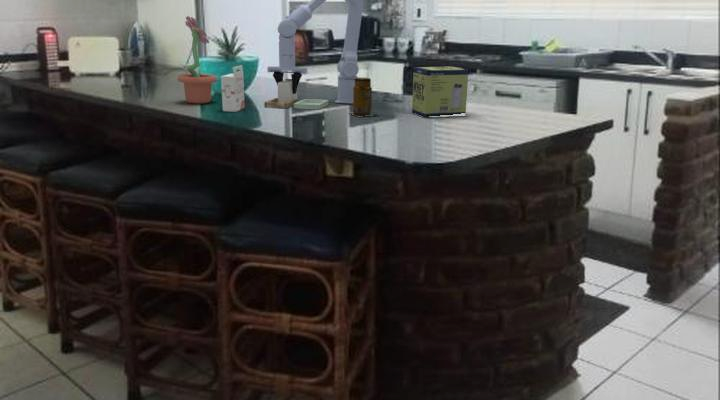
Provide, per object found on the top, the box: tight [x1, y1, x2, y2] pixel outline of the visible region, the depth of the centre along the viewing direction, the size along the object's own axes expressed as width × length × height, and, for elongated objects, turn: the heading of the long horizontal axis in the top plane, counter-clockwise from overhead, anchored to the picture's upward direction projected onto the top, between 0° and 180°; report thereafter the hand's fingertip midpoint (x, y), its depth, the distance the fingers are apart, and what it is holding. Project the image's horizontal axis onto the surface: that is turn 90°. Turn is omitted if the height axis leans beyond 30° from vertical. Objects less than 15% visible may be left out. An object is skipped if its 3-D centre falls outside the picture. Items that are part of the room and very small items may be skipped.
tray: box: [293, 98, 329, 111], centre depth 225 cm, size 9×13×2 cm
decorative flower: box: [177, 15, 218, 105], centre depth 225 cm, size 15×14×30 cm
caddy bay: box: [264, 97, 298, 110], centre depth 225 cm, size 8×11×2 cm
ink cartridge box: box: [220, 64, 246, 113], centre depth 214 cm, size 9×5×15 cm, turn 168°
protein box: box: [411, 65, 469, 118], centre depth 211 cm, size 10×16×16 cm
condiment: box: [352, 77, 373, 118], centre depth 209 cm, size 7×8×12 cm
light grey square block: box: [277, 78, 298, 103], centre depth 231 cm, size 4×8×8 cm, turn 166°
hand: (287, 93), depth 231 cm, fingers closed on light grey square block, 4 cm apart
